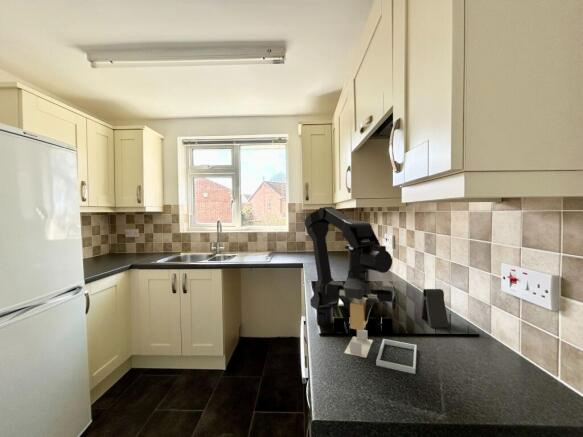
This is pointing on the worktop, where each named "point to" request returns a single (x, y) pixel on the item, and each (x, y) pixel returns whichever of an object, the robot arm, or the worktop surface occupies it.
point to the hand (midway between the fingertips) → (359, 320)
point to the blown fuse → (358, 314)
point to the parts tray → (394, 365)
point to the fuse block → (359, 344)
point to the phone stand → (434, 309)
